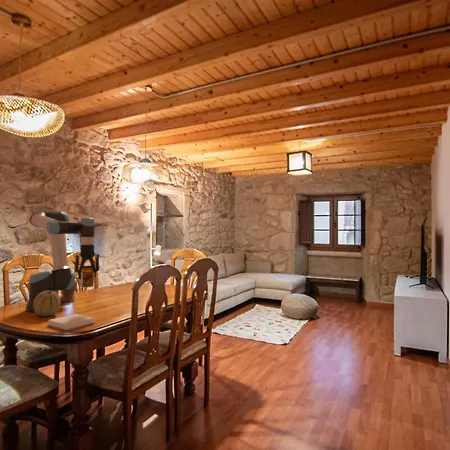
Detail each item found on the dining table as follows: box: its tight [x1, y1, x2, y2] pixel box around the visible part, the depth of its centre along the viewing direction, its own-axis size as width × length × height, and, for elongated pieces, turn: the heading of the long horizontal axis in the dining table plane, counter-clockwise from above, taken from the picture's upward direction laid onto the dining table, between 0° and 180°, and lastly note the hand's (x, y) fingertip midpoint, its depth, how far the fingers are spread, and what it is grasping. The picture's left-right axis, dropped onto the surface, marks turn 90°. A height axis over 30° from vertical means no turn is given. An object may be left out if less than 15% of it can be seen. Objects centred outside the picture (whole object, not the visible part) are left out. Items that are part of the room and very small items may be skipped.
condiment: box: [79, 265, 95, 288], centre depth 204 cm, size 7×8×12 cm
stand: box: [47, 313, 95, 332], centre depth 186 cm, size 17×17×3 cm
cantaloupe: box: [33, 291, 62, 317], centre depth 205 cm, size 15×15×15 cm
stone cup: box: [59, 280, 78, 303], centre depth 248 cm, size 15×12×15 cm
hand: (87, 283), depth 204 cm, fingers closed on condiment, 6 cm apart
